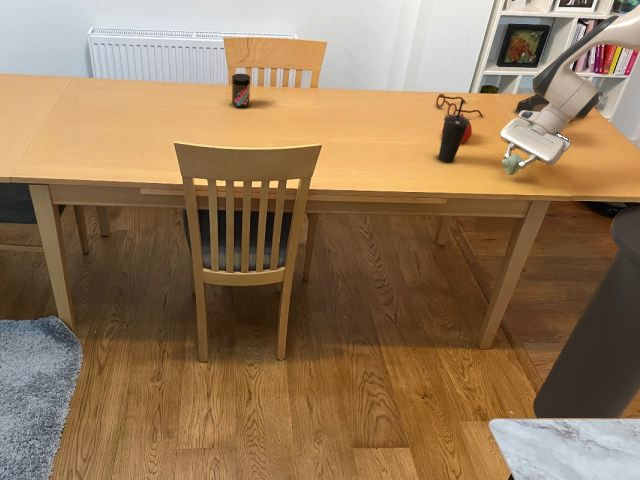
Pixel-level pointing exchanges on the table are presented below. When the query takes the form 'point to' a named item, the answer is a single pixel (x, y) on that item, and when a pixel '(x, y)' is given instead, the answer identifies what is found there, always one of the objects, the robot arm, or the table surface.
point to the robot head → (512, 164)
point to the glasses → (453, 104)
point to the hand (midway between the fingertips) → (512, 162)
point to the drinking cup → (452, 135)
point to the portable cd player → (530, 103)
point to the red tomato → (467, 132)
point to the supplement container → (240, 90)
